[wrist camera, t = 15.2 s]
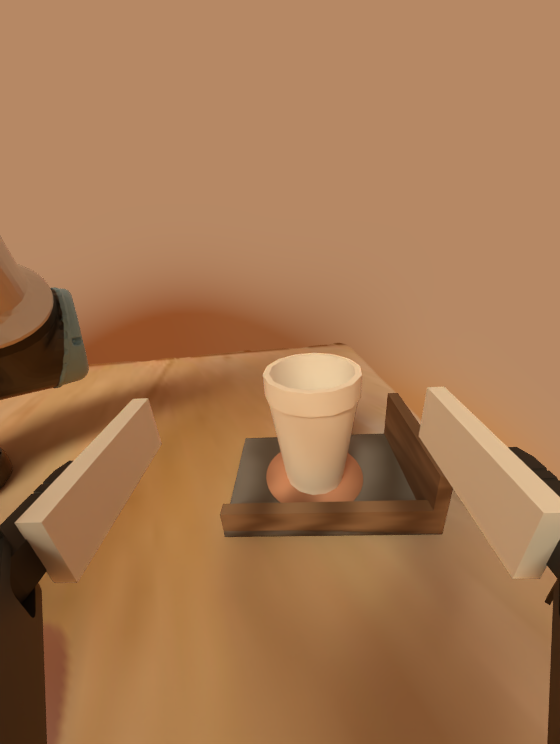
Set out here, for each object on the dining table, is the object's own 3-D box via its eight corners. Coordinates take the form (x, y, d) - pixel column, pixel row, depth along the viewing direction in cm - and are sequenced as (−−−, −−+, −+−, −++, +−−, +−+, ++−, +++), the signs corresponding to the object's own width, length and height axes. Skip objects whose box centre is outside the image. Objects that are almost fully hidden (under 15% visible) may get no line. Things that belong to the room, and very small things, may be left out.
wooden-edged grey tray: (225, 536, 28) (212, 481, 25) (246, 443, 41) (240, 399, 38) (442, 534, 26) (455, 475, 23) (392, 438, 39) (397, 393, 36)
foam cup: (333, 523, 27) (334, 403, 22) (257, 484, 32) (243, 380, 27) (368, 462, 34) (375, 361, 29) (301, 438, 39) (296, 348, 34)
